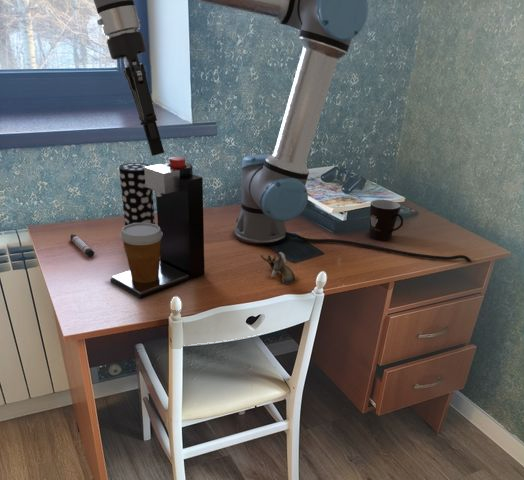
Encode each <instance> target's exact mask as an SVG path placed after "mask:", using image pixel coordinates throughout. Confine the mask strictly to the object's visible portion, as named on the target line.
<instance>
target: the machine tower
mask: <svg viewBox="0 0 524 480" xmlns="http://www.w3.org/2000/svg"><path fill="white" fill-rule="evenodd" d="M185 164H186V167H183V168H174V169H177V170H180V191H176V192H172V193H168V194H164V196H162V197H157V196H155V204H156V215H157V217H156V218H157V225H158V226H159V227H160V229H161V232H162V233H163V236H162V238H161V245H160V260H159V261H161V262H163V263H165V264H167V265H169V266H171V267H173V268H175V269H177V270H179V271H182V272H184V273H186V274H188V276H190V277H191V280H190V281H192V280H195V279H198V278H201V277H203V276H205V275H206V274H205V273H206V272H205V234H204V233H205V231H204V230H205V229H204V224H205V223H204V183H203V181H204V180H203V179H204V178H203V177H202V176H199V175H196V174H193V173H194V171H193V165H192V164H191V163H189V162H185ZM163 165H164V166H167V167H168V168H169V167H170V164H169V162H166V163H164V164H163ZM171 168H172V167H171Z"/></svg>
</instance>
